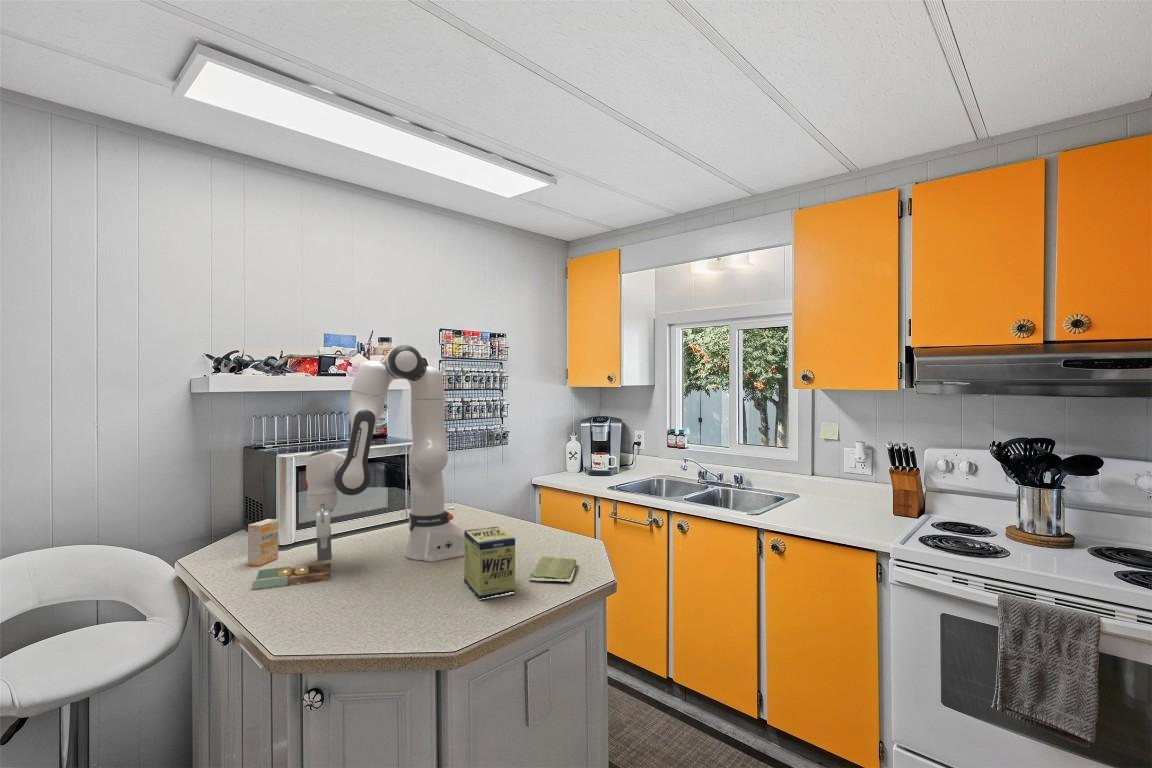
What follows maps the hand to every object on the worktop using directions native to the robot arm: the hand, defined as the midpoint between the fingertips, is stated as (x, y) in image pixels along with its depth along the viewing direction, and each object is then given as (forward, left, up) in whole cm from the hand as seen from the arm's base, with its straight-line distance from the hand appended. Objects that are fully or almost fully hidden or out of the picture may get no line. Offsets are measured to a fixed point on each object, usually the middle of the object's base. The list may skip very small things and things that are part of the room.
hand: (324, 544), depth 175 cm
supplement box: (+18, -12, -7) cm, 23 cm away
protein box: (-43, +39, -7) cm, 58 cm away
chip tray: (+13, +9, -7) cm, 18 cm away
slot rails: (+4, +9, -7) cm, 12 cm away
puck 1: (+10, +9, -7) cm, 15 cm away
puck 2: (+6, +9, -7) cm, 13 cm away
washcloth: (-65, +35, -8) cm, 74 cm away
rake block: (0, 0, -4) cm, 4 cm away
